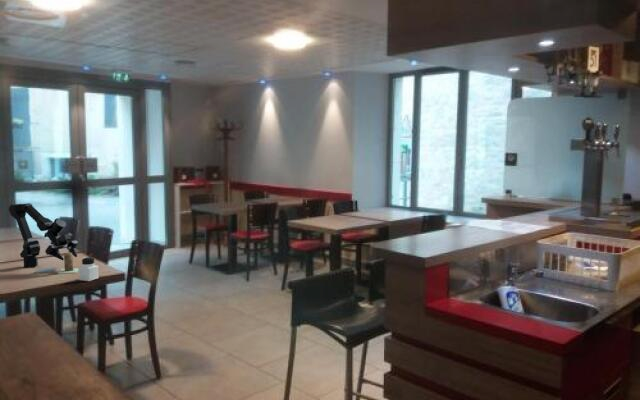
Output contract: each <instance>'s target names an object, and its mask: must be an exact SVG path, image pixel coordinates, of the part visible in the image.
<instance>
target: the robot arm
mask: <svg viewBox="0 0 640 400" xmlns="http://www.w3.org/2000/svg"><path fill="white" fill-rule="evenodd" d="M8 212H9V214H10V216H11V218H14V219H15V220H16V223H17V225H18V228H19V231H20V234H21V237H22V240H23V245H22V249H23V250H22V251H21V252H20V253H19V256H20V257H21V258H23V266H22V268H36V267H37V266H39V261H38V257H37V256H39V255H40V252H41V245H40V243H39V242H40V241H39V240H36V239H34V237H33V234H32V232H31V229H30V226H29V223H28V221H27V217H26V214H27V215H29V217H30V218H31V219H32V220H34V222H35V223H36V227H37V228H38V230H39V231H41V232H44V236H43V237H44V238H48V240H49V241H50V245H48V246H47V247H46V249H45V250H44V251H45V254H46V255H47V256H48V255H49V256H51V257H54V258H56V259H59V260H60V261H64V256H63V255H62V253H61V252H60V250H64V249H67V250H68V253H72V256H73V257H74V258H77V257H78V254H77V249H76V247H77V246H78V244H79V242H78V241H77V240H71V239H72V238H73V234H72V233H71V232H68V233H66V234H62V235H60V233H61V232H62V231H63V230H64V229H65V227H66V226H67V223H66V221H65V220H63V219H60V218H57V217H56V218H55V219H54V221H53V220H51V219H50V218H48V217H46V216H45V217H44V215H42V214H41V213H40V212H39V211H38V210H37V209H36V208H35V207H34V206H33V204H32V203H29V202H27V203H16V204H15V203H13V204H10V205H9V207H8ZM68 241H69V242H68Z"/></svg>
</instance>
